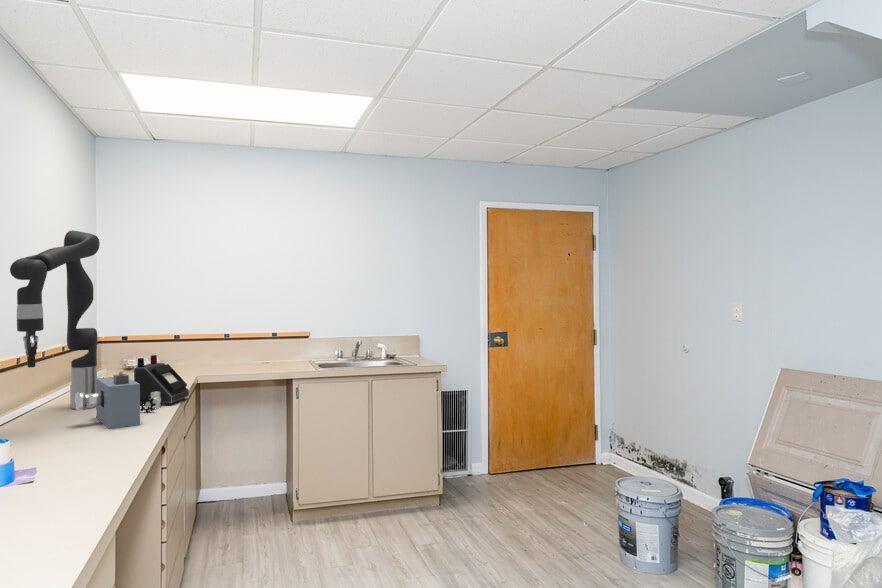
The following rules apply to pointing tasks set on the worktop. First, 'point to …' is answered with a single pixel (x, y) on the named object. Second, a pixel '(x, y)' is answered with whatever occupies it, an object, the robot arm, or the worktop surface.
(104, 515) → the worktop surface
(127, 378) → the potentiometer
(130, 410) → the housing
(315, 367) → the worktop surface
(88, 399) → the knob
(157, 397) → the valve
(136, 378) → the voltmeter
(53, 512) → the worktop surface
